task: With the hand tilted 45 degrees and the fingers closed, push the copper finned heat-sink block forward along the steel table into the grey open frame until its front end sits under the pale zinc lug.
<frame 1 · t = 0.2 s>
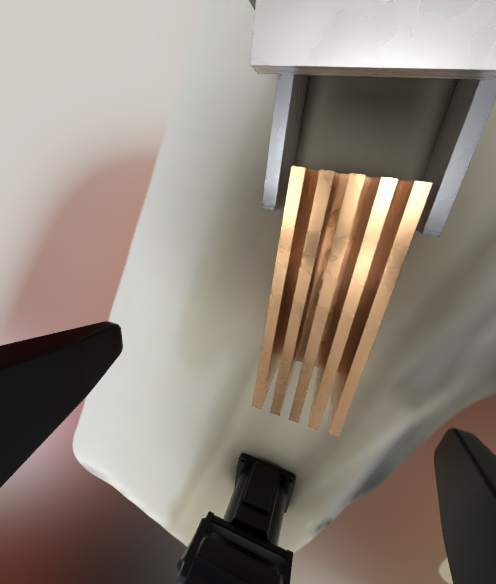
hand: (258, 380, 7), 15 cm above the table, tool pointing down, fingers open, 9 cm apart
heat-sink block: (329, 274, 21), on the table
grey open frame: (362, 140, 17), on the table
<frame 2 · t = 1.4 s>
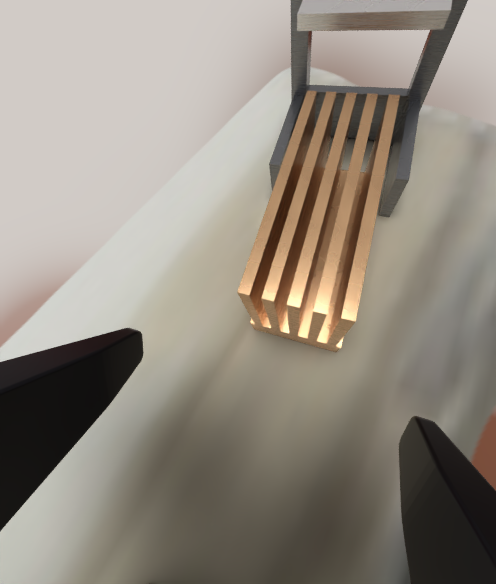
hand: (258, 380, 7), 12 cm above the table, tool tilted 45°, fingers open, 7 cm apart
heat-sink block: (315, 256, 22), on the table
grey open frame: (338, 167, 24), on the table
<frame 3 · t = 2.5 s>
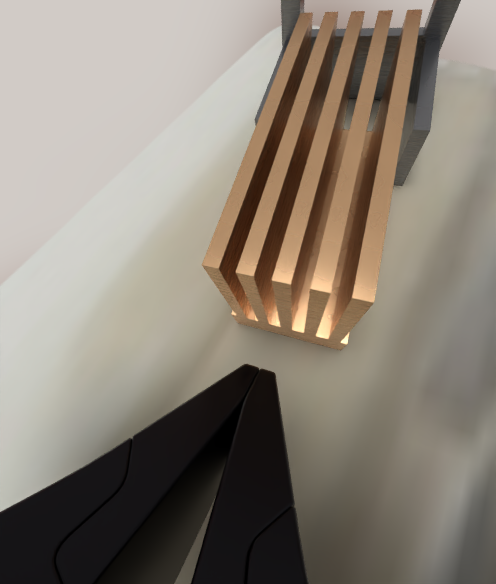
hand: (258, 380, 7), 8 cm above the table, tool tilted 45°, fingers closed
heat-sink block: (313, 234, 18), on the table
grey open frame: (339, 131, 20), on the table
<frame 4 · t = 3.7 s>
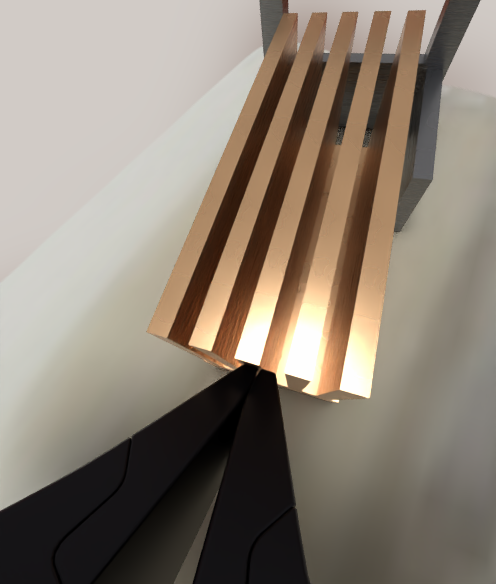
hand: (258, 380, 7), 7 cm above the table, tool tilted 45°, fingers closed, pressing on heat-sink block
heat-sink block: (302, 261, 16), on the table, touching gripper
grey open frame: (329, 164, 18), on the table
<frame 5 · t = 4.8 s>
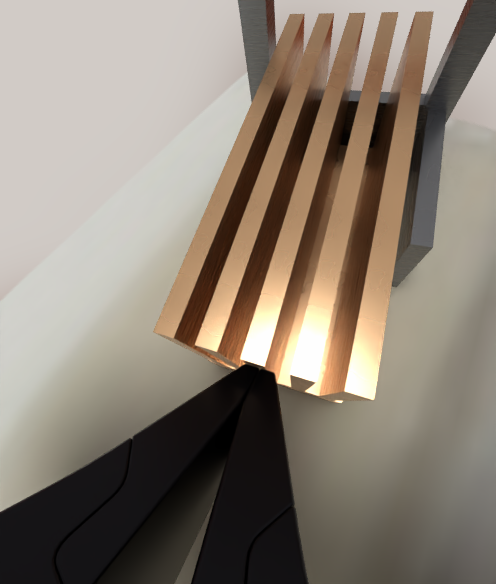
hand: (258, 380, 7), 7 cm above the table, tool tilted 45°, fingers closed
heat-sink block: (306, 262, 16), on the table
grey open frame: (322, 205, 17), on the table
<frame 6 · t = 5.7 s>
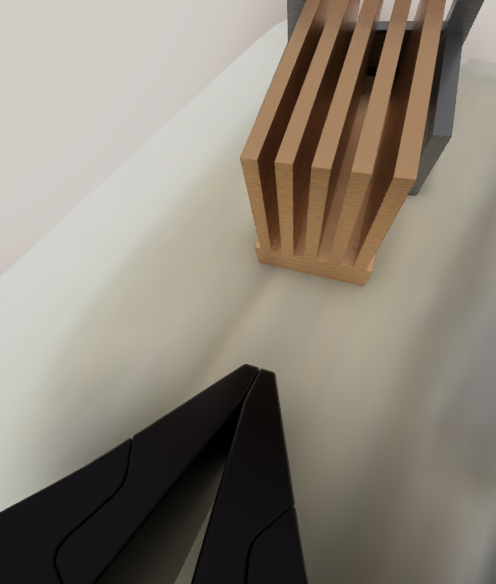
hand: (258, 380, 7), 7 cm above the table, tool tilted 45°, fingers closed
heat-sink block: (334, 180, 18), on the table
grey open frame: (348, 133, 19), on the table
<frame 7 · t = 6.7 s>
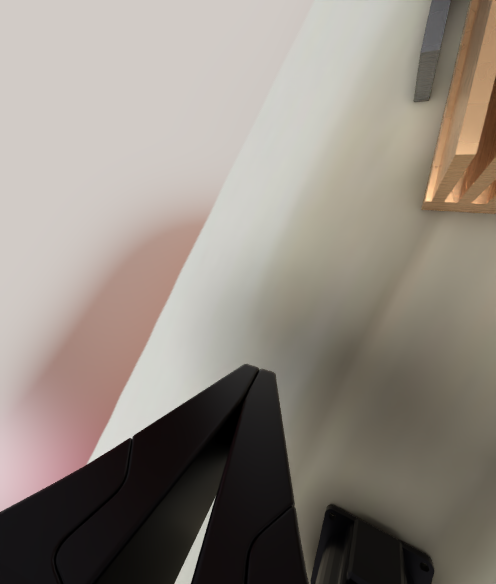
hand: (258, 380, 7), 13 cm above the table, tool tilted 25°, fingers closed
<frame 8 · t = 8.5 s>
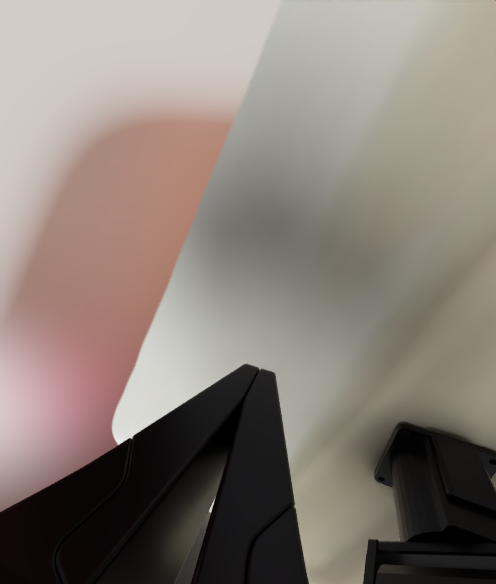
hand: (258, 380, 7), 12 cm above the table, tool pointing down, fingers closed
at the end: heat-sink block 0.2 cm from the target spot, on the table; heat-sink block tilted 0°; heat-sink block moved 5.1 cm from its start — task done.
